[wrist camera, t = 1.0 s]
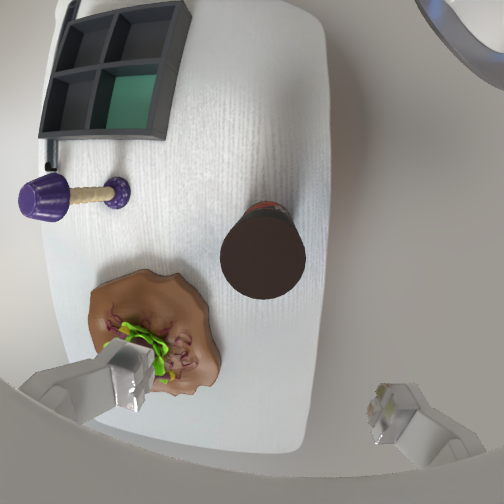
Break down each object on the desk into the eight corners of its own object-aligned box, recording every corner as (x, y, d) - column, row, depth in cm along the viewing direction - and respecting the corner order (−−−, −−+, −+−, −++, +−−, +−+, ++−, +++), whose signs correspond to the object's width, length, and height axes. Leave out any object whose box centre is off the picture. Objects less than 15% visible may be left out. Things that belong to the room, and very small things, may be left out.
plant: (80, 276, 38) (32, 304, 27) (200, 261, 36) (171, 294, 25) (119, 385, 43) (90, 426, 32) (228, 387, 41) (216, 441, 30)
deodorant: (297, 207, 34) (315, 227, 19) (285, 255, 35) (293, 307, 21) (248, 196, 34) (229, 207, 19) (237, 244, 35) (212, 288, 21)
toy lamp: (96, 191, 35) (6, 204, 19) (116, 165, 34) (25, 163, 18) (117, 215, 36) (30, 241, 19) (138, 189, 35) (51, 200, 18)
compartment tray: (83, 32, 29) (68, 22, 25) (192, 16, 28) (183, 0, 24) (57, 140, 34) (37, 138, 29) (165, 140, 33) (151, 135, 28)
